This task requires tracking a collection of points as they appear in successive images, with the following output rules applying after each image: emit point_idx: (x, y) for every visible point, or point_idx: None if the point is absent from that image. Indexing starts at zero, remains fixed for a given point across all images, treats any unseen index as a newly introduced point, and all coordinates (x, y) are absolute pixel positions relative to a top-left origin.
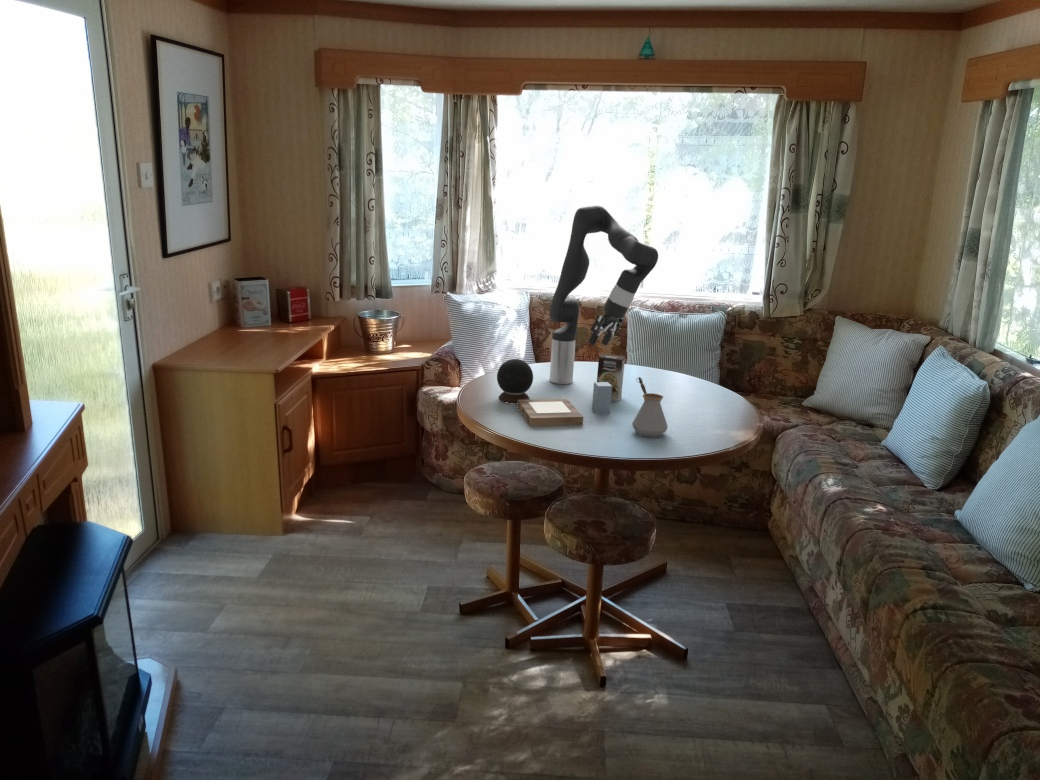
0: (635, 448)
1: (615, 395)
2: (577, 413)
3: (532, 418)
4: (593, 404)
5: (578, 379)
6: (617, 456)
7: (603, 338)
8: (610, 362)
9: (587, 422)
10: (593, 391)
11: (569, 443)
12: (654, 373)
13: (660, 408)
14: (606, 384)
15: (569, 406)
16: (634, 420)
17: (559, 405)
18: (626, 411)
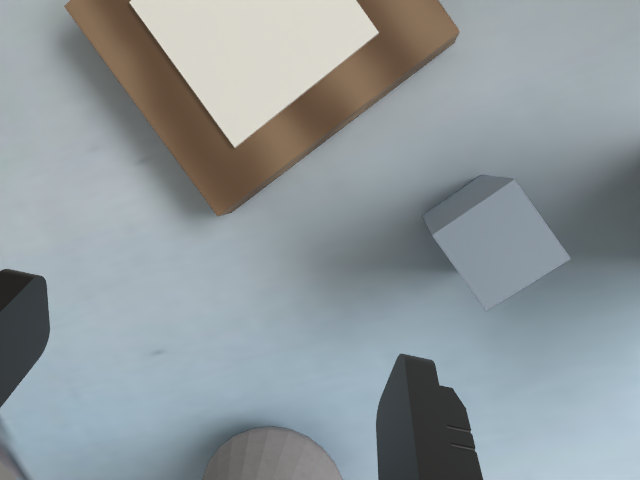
0: (103, 456)
1: None
2: (246, 176)
3: (70, 13)
4: (470, 186)
5: None
6: (3, 416)
7: (408, 409)
8: None
9: (277, 218)
10: (497, 179)
11: (16, 234)
12: None
13: None
14: (502, 269)
15: (329, 100)
16: (239, 449)
17: (302, 51)
18: (531, 335)
